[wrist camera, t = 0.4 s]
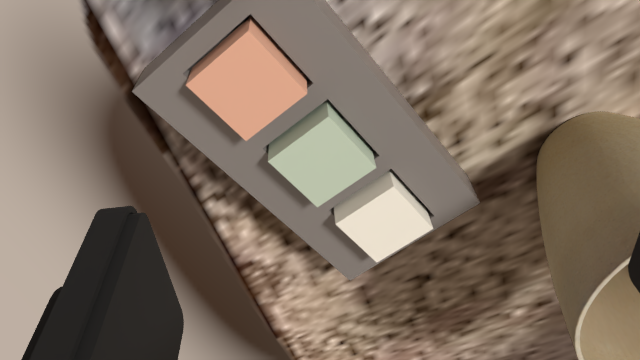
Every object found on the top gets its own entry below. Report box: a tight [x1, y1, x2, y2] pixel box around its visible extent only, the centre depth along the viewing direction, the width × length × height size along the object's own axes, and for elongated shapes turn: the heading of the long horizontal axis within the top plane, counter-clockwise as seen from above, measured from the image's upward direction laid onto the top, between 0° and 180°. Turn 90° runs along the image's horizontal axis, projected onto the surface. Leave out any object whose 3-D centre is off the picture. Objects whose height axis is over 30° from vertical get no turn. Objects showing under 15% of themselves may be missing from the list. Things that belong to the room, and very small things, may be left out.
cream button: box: [334, 169, 433, 262], centre depth 39 cm, size 5×5×2 cm
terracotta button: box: [186, 16, 307, 141], centre depth 32 cm, size 5×5×2 cm
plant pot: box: [537, 112, 640, 360], centre depth 34 cm, size 15×15×16 cm
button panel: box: [132, 0, 480, 280], centre depth 37 cm, size 22×12×4 cm, turn 39°
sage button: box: [268, 99, 376, 207], centre depth 35 cm, size 5×5×2 cm
